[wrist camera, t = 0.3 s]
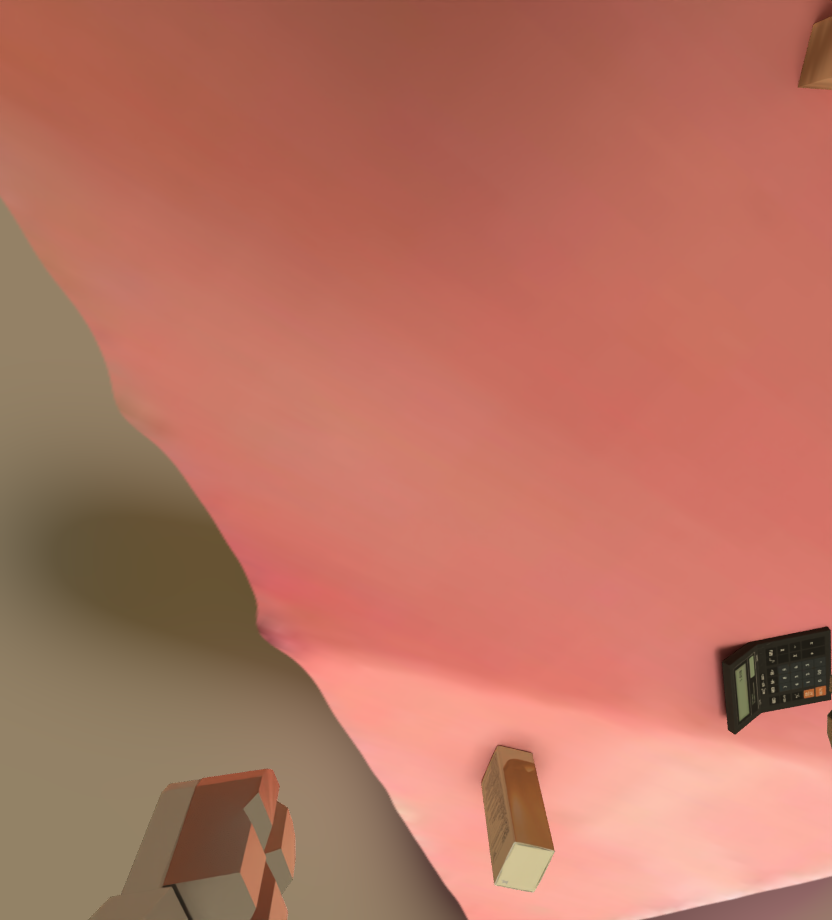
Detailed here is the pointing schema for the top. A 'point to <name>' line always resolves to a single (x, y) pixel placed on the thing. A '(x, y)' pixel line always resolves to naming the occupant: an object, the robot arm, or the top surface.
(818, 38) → the oak block
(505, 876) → the skincare box
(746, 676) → the calculator
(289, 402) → the top surface
